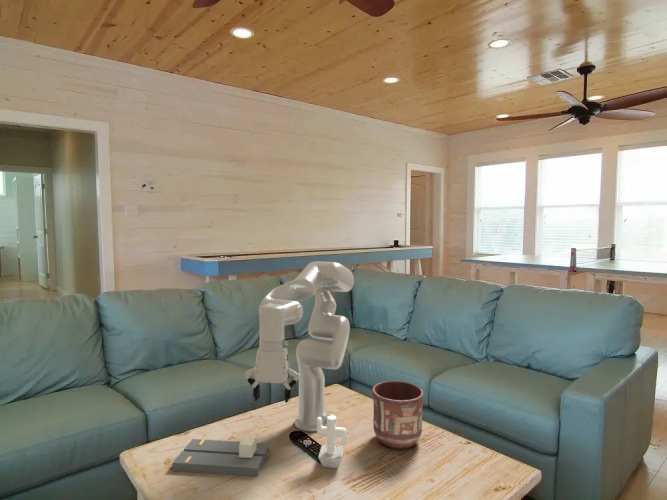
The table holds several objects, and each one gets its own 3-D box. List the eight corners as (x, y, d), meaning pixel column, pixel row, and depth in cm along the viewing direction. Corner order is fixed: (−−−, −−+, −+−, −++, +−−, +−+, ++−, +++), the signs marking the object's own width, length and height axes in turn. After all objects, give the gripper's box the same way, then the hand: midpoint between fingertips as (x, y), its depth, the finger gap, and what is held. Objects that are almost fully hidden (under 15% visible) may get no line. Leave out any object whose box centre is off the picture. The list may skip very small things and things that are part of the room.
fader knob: (256, 452, 133) (256, 437, 132) (251, 461, 128) (251, 445, 127) (244, 451, 133) (244, 436, 133) (239, 460, 128) (238, 444, 128)
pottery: (360, 439, 145) (361, 388, 144) (394, 423, 156) (394, 376, 155) (400, 461, 131) (401, 405, 130) (433, 442, 143) (434, 391, 142)
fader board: (269, 450, 137) (269, 442, 137) (257, 476, 123) (257, 467, 123) (192, 446, 139) (192, 438, 139) (172, 470, 125) (172, 461, 125)
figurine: (345, 471, 126) (345, 423, 125) (314, 468, 127) (314, 420, 126) (347, 458, 133) (348, 412, 132) (318, 455, 134) (318, 410, 133)
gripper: (302, 342, 130) (302, 396, 131) (248, 340, 132) (248, 393, 133) (297, 349, 123) (297, 406, 124) (240, 347, 125) (240, 403, 126)
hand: (272, 399), depth 128 cm, fingers open, 9 cm apart
